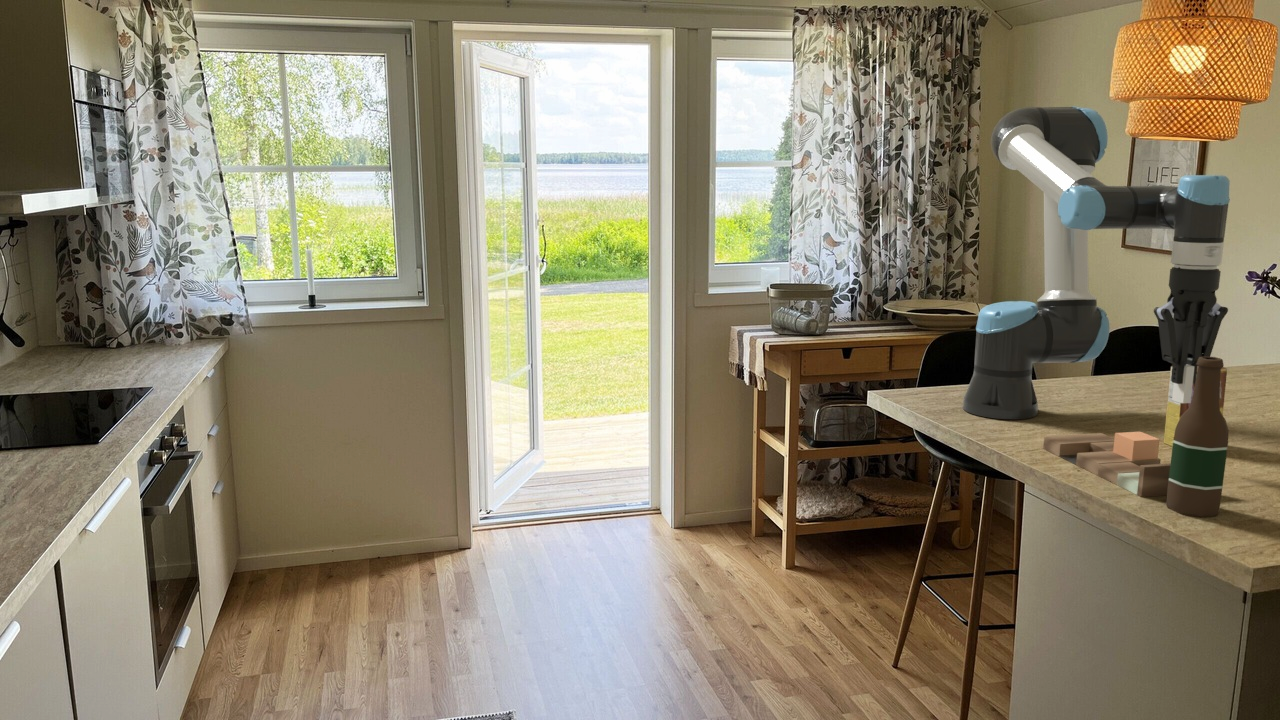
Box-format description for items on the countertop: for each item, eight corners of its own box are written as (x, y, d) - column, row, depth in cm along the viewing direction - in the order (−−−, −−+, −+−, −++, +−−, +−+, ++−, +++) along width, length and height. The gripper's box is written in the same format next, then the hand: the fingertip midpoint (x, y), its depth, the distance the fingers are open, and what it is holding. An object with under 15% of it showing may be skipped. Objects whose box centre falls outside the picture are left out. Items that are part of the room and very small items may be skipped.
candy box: (1205, 441, 188) (1214, 363, 185) (1220, 447, 184) (1230, 368, 180) (1161, 442, 187) (1170, 364, 184) (1175, 449, 183) (1185, 369, 180)
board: (1043, 448, 183) (1045, 423, 182) (1100, 445, 185) (1103, 419, 184) (1141, 496, 157) (1144, 467, 156) (1206, 492, 159) (1210, 462, 158)
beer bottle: (1174, 516, 148) (1192, 362, 143) (1156, 499, 156) (1173, 352, 151) (1229, 519, 147) (1250, 364, 142) (1209, 502, 154) (1228, 353, 150)
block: (1113, 451, 173) (1115, 433, 173) (1138, 450, 174) (1140, 431, 174) (1131, 460, 169) (1134, 440, 168) (1157, 458, 169) (1159, 439, 169)
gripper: (1177, 269, 161) (1163, 408, 166) (1246, 268, 164) (1230, 404, 168) (1146, 265, 169) (1133, 398, 173) (1212, 264, 171) (1197, 395, 175)
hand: (1181, 401), depth 171 cm, fingers closed
